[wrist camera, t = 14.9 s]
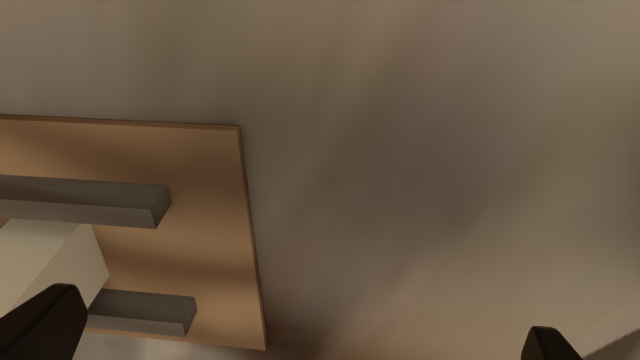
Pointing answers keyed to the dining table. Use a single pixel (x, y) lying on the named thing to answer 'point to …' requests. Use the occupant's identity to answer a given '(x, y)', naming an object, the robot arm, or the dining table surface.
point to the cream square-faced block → (48, 260)
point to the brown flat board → (146, 220)
